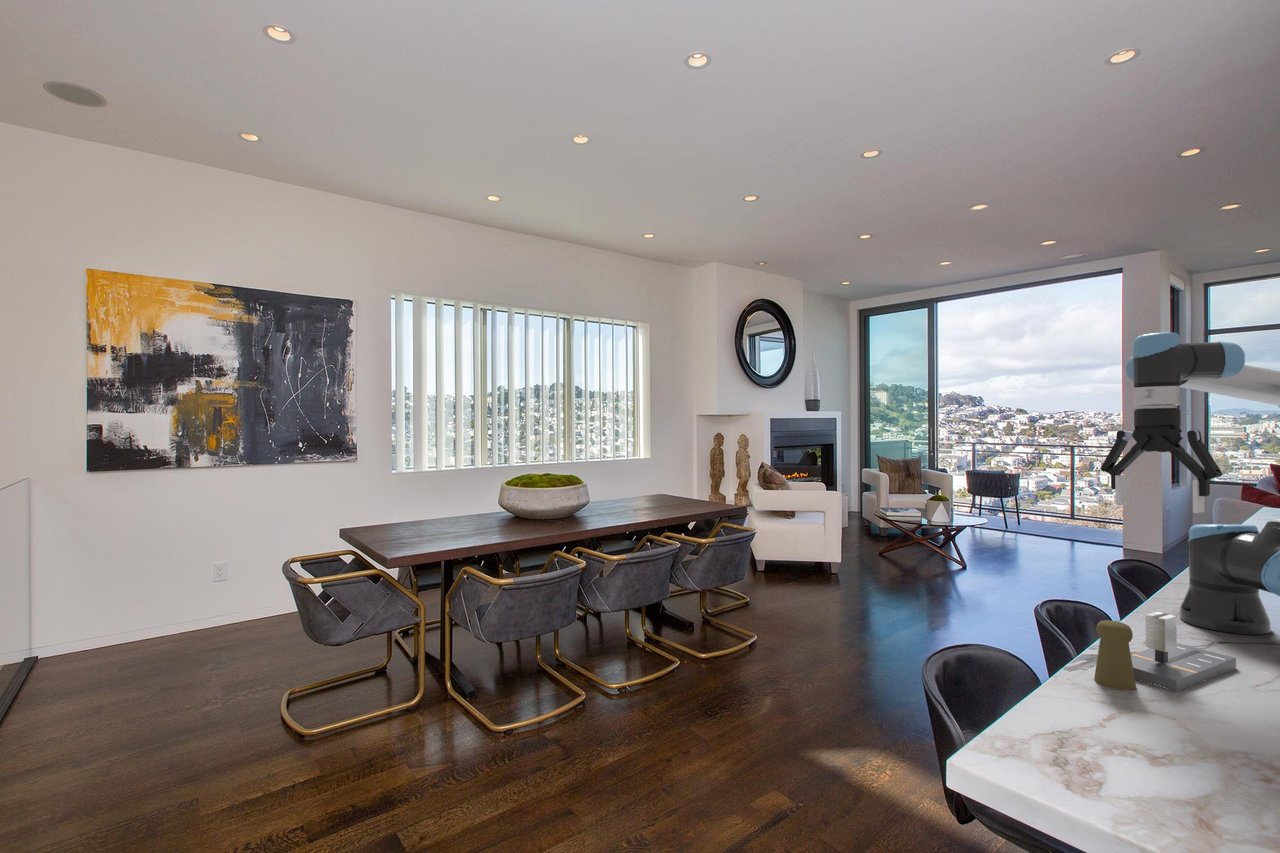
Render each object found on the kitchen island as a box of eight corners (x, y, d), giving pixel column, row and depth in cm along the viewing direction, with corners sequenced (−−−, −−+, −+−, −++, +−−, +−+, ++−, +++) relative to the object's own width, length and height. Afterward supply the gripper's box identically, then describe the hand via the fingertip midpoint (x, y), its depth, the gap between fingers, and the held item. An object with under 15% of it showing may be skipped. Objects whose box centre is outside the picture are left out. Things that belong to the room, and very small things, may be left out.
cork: (1091, 683, 111) (1091, 622, 111) (1096, 673, 115) (1095, 614, 115) (1134, 693, 107) (1133, 630, 107) (1137, 682, 111) (1137, 621, 111)
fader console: (1172, 651, 126) (1171, 641, 126) (1236, 668, 117) (1235, 657, 117) (1111, 671, 116) (1111, 660, 116) (1176, 692, 107) (1176, 680, 107)
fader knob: (1157, 657, 117) (1157, 611, 117) (1177, 662, 114) (1176, 615, 114) (1146, 660, 115) (1145, 614, 115) (1165, 666, 112) (1164, 619, 112)
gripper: (1081, 409, 139) (1083, 503, 139) (1225, 405, 116) (1226, 517, 116) (1100, 409, 142) (1101, 501, 142) (1243, 405, 119) (1244, 514, 119)
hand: (1157, 508), depth 129 cm, fingers open, 13 cm apart
